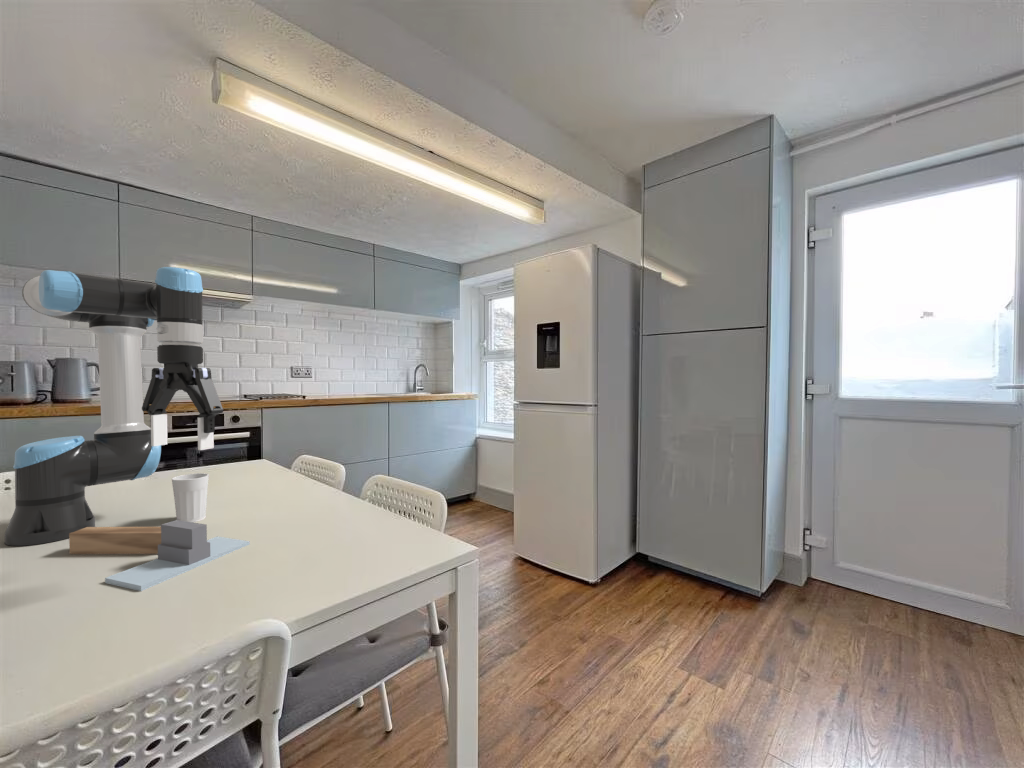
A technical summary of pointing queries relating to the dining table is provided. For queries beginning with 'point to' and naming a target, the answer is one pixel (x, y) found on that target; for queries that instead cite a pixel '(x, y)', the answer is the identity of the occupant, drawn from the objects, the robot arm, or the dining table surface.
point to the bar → (115, 540)
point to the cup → (190, 496)
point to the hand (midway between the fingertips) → (182, 447)
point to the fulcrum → (176, 555)
